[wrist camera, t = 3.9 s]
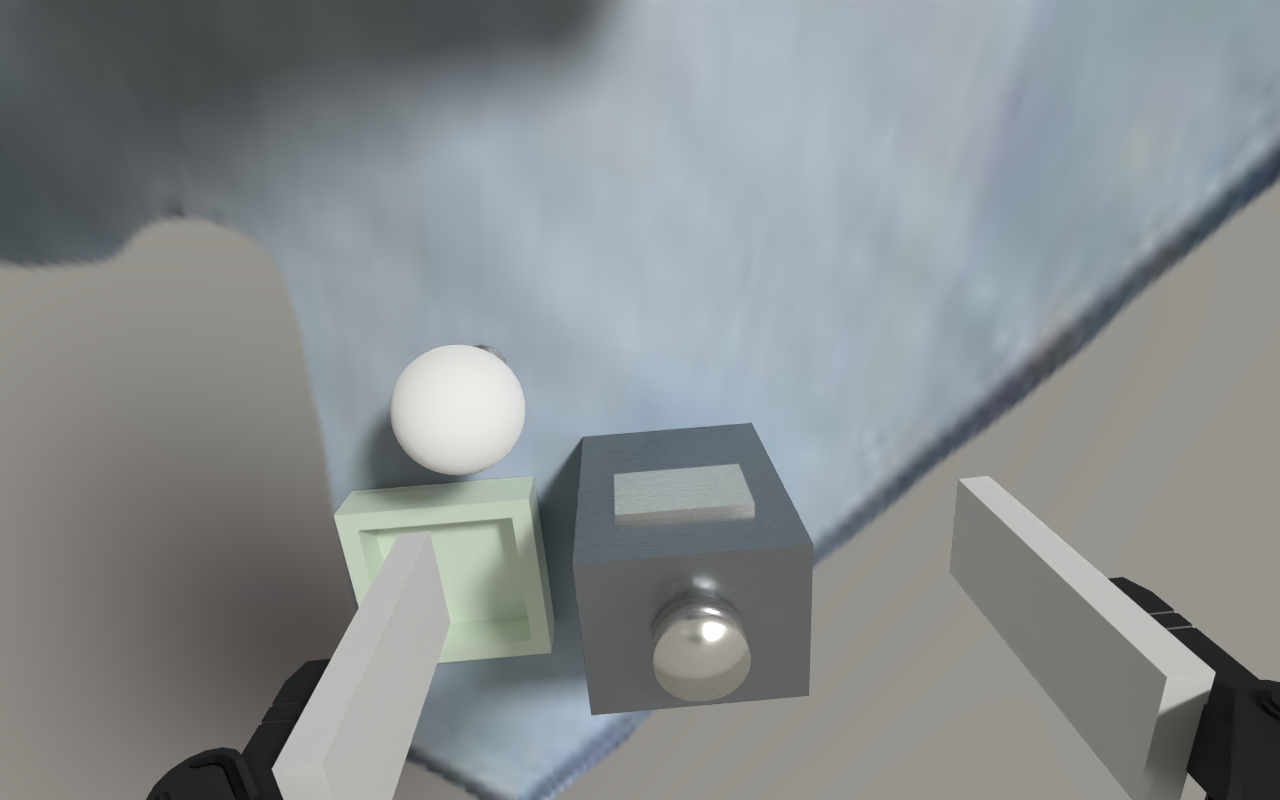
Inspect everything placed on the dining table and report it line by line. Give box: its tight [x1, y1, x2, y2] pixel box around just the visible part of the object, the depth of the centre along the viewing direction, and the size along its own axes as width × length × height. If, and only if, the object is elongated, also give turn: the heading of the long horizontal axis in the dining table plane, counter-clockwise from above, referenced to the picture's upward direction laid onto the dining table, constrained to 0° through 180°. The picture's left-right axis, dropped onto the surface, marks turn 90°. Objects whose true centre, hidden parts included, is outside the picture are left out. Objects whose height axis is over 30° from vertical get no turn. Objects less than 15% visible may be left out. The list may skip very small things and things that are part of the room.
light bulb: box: [390, 345, 525, 475], centre depth 36 cm, size 7×7×11 cm
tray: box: [334, 476, 555, 663], centre depth 45 cm, size 12×12×3 cm
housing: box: [572, 423, 813, 715], centre depth 38 cm, size 9×11×16 cm
